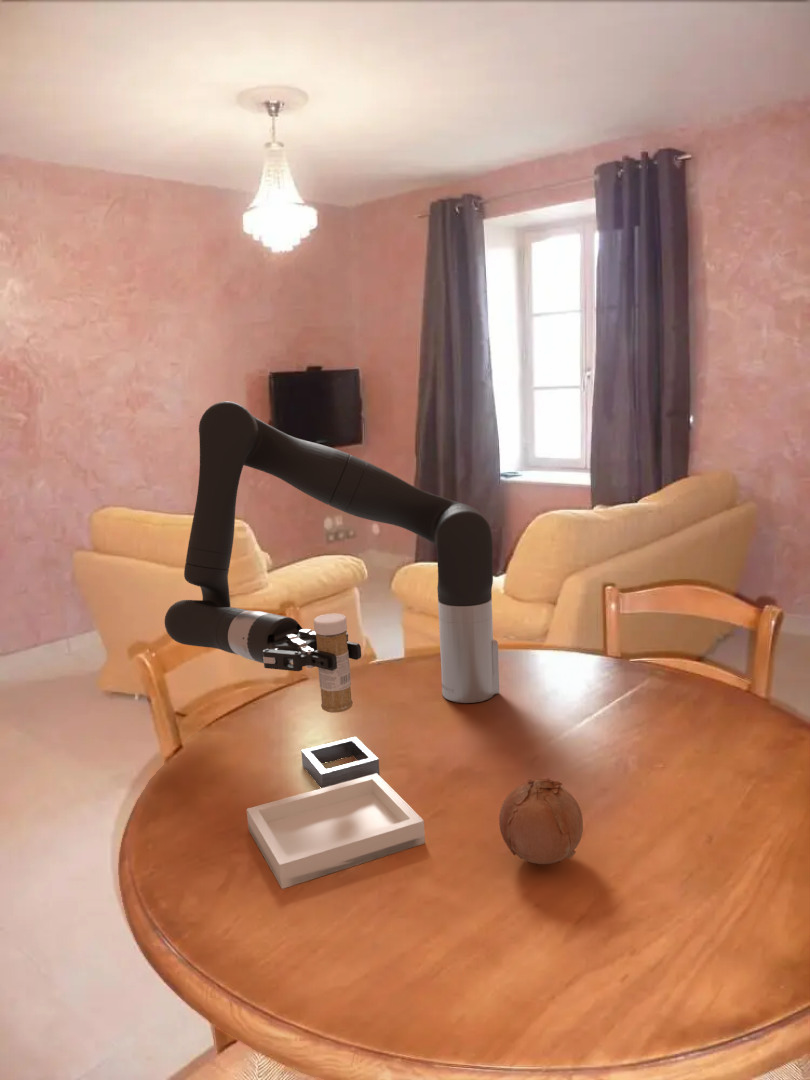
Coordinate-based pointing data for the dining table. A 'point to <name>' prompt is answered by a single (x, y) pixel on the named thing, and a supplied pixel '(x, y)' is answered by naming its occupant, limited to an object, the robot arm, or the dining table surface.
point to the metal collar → (336, 751)
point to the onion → (541, 822)
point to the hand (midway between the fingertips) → (347, 657)
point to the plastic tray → (333, 829)
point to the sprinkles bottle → (338, 680)
